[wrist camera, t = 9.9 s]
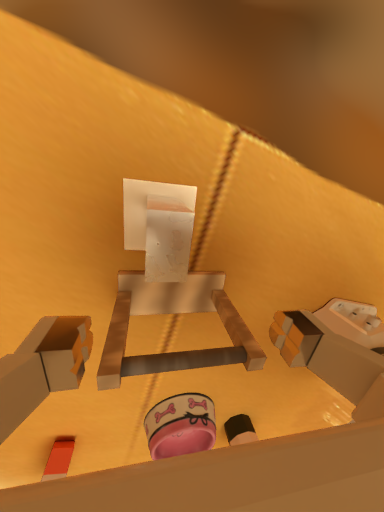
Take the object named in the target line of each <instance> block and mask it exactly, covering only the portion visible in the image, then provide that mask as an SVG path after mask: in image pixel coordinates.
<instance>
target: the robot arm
mask: <svg viewBox="0 0 384 512" xmlns="http://www.w3.org/2000/svg"><path fill="white" fill-rule="evenodd" d="M376 314H377V308H376V307H375V306H373V305H369V304H364V303H359V302H354V301H349V300H343V299H338V298H334V299H332V300H331V301H330V302H328V303H327V304H326V305H325V306H324V307H323V308H321V309H320V310H318V311H316V312H314V313H313V314H312V313H311V312H310V311H308V310H306V309H305V310H286V311H277V312H276V313H275V315H274V317H273V318H274V320H275V321H274V322H273V323H272V324H271V326H270V329H269V335H270V339H271V341H272V343H273V344H274V346H276V347H277V348H279V349H280V354H281V356H282V357H283V358H284V360H285V361H286V363H287V364H288V365H289V367H302V366H307V368H308V369H310V370H311V371H312V372H313V373H315V374H316V375H317V376H319V377H320V378H321V379H322V380H324V381H325V382H326V383H327V384H329V385H330V386H331V387H333V388H334V389H335V390H336V391H338V392H339V393H340V394H341V395H343V396H344V397H345V398H347V399H348V400H349V401H350V402H352V403H353V404H354V405H355V406H356V408H355V409H354V410H353V412H352V418H353V419H354V421H355V423H350V424H345V425H339V426H334V427H329V428H323V429H318V430H313V431H307V432H302V433H297V434H291V435H286V436H281V437H276V438H270V439H265V440H260V441H254V442H249V443H244V444H238V445H233V446H228V447H223V448H217V449H212V450H207V451H201V452H196V453H191V454H185V455H180V456H175V457H170V458H164V459H159V460H154V461H148V462H143V463H138V464H133V465H127V466H122V467H117V468H111V469H106V470H101V471H96V472H90V473H85V474H80V475H74V476H69V477H64V478H59V479H53V480H48V481H43V482H37V483H32V484H27V485H22V486H16V487H11V488H6V489H0V512H384V324H383V323H381V322H382V320H381V319H380V318H378V317H376ZM90 327H91V317H90V316H45V317H43V318H41V319H40V320H39V322H38V323H37V324H36V325H35V327H34V328H33V329H32V331H31V332H30V333H29V334H28V336H27V337H26V338H25V339H24V341H23V342H22V343H21V345H20V346H19V347H18V348H17V350H16V351H15V352H14V354H7V355H6V356H4V357H2V358H1V359H0V445H1V444H2V443H3V442H4V441H5V439H6V438H7V437H8V436H9V435H10V434H11V433H12V432H13V431H14V430H15V429H16V428H17V427H18V426H19V425H20V424H21V423H22V422H23V421H24V420H25V419H26V418H27V417H28V416H29V415H30V414H31V413H32V412H33V411H34V410H35V409H36V408H37V407H38V406H39V404H40V403H41V402H42V401H43V400H44V399H45V398H46V397H47V396H48V395H49V394H50V393H49V392H56V391H64V390H72V389H78V388H79V385H80V383H81V380H82V377H83V374H84V371H85V367H84V363H85V362H86V361H87V360H88V359H89V357H90V354H91V350H92V345H93V333H92V332H91V331H90V330H89V329H90Z"/></svg>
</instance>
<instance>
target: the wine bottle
mask: <svg viewBox="0 0 384 512" xmlns="http://www.w3.org/2000/svg"><path fill="white" fill-rule="evenodd" d="M224 426H225V432H226V435H227V438H228V442H229V445H230V446H233V445H238V444H244V443H249V442H254V441H259V440H258V437H257V435H256V432H255V430H254V428H253V425H252V423H251V420H250V418H249V416H248V415H244V414H240V415H237V416H234V417H231V418H230V419H229V420H228V421H227V422H226V423H225V424H224Z"/></svg>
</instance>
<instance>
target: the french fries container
mask: <svg viewBox="0 0 384 512" xmlns="http://www.w3.org/2000/svg"><path fill="white" fill-rule="evenodd" d="M74 443H75V441H55V443H54V446H53V448H52V451H51V454H50V457H49V459H48V462H47V465H46V468H45V471H44V474H43V476H42V479H41V482H43V481H48V480H53V479H59V478H64V477H66V475H67V471H68V467H69V464H70V460H71V456H72V453H73V449H74Z"/></svg>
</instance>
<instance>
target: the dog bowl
mask: <svg viewBox="0 0 384 512" xmlns="http://www.w3.org/2000/svg"><path fill="white" fill-rule="evenodd" d="M144 427H145V430H146V434H147V439H148V446H149V450H150V454H151V457H152V459H153V461H154V460H159V459H164V458H170V457H175V456H180V455H185V454H191V453H196V452H201V451H207V450H211V448H212V447H213V446H214V444H215V440H216V424H215V409H214V403H213V401H212V400H211V399H210V398H209V397H208V396H206V395H203V394H200V393H183V394H178V395H175V396H172V397H169V398H167V399H165V400H163V401H161V402H159V403H158V404H156V405H155V406H154V407H153V408H152V409H151V410H150V411H149V412H148V414H147V415H146V417H145V420H144Z"/></svg>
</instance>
